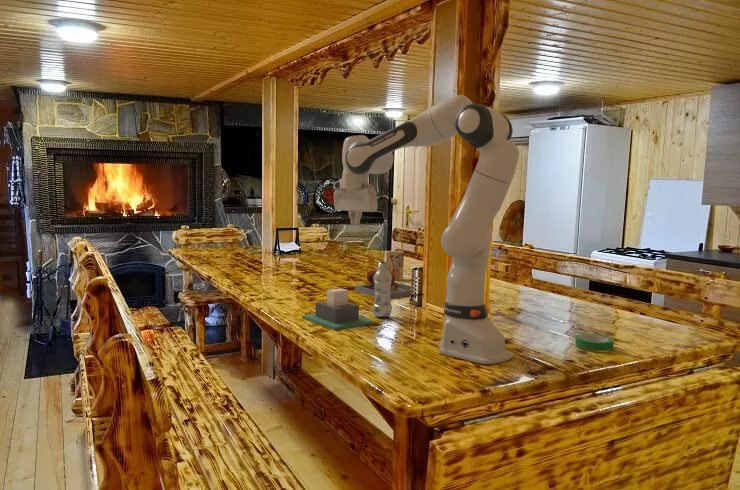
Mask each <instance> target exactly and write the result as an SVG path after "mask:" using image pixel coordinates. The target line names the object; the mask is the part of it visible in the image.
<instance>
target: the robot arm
mask: <svg viewBox="0 0 740 490" xmlns="http://www.w3.org/2000/svg"><path fill="white" fill-rule="evenodd" d="M513 130H514V129H513V124H512V123H511V121H510V120H509V118H508V117H507V116H506V115H504V114H502V113H500V112H498V111H497V110H496V109H493V108H492V107H489V106H486V105H483V104H481V103H479V104H478V103H473V102H472V100H471V99H470V98H469V97H468V96H466V95H463V94H456V95H454V96H451V97H448V98H446V99H444V100H442V101H441V100H440V102H438V103H435V104H434V105H432V106H430V107H429V108H426V110H424V111H422V112H421V113H419V114H418V115H415V116H413V117H412V118H411V119H409V120H407V121H405V122H403V123H401V124H398V125H397V126H395V127H392V128H391V129H388V130H387V131H385V132H382V133H381V134H379V135H377V136H374V137H373V138H371V139H369V138H368V137H367V136H366V135H363V134H357V135H350V136H348V137H347V138H345V139H344V141H343V145H342V152H341V153H342V156H341V158H342V160H341V161H342V166H343V170H342V175H341V176H342V178H340V179H339V180H337V181H335V182H334V183H333V189H334V192H333V205H334V206H333V207H334V209H335V210H336V211H345V212H348V214H347V215H348V216H349V218H350V225H356V226H357V225H358V226H359V225H360V224H361V218H362V216H363V212H364V213H365V212H366V213H375V212H377V210H378V207H379V206H378V205H379V204H378V196H377V195H378V194H377V191H376V187H375V186H374V185H373V183H369V174H373V175H375V174H376V175H381V174H382V175H383V174H385V173H388V172H389V171H390V170H391V169H392V168H393V165H394V161H395V160H394V159H395V158H394V153H393V152H395V151H397V150H399V149H403V148H409V147H411V148H412V147H432V146H435V145H438V144H441V143H443V142H446V141H447V140H449V139H451V138H452V137H454V136H456V135H459V136H460V137H461V139H463V140H464V141H466V142H467V144H469V145H470V146H471V147H472V148H474V149H478V151H479V157H478V161H477V162H476V163H477V164H475V165H476V166H475V168H474V171H473V173H472V175H471V178H470V181H469V183H468V185H467V188H466V190H465V193H464V195H463V196H462V198H461V201H460V202H459V204H458V206H457V207H456V209H455V211H454V213H453V215H452V216H451V219H450V220H449V223H448V225H447V226H446V227H445V229H444V231H443V232H442V234H441V237H440V244H441V247H442V250H443V251H444V253H445V254H447V255H448V256H450V257H451V261H450V267H449V270H448V273H447V275H446V292H445V293H446V294H445V295H446V296H445V301H444V305H443V313H444V315H445V316H444V322H443V328H442V334H441V339H440V342H439V345H438V348H439V350H438V351H439V352H438V353H439V354H441V355H445V356H449V357H454V358H458V359H462V360H465V361H469V362H472V363H473V362H474V363H477V364H482V365H488V364H489V365H490V364H498V363H502V362H506V361H509V360H512V359H513V358H514V352H512V351H510V350H508V349H506V341H505V336H504V334H503V333H502V332H501V331H500V330H499V329H498V328H497V327H496V326H495V325H494V323H493V322H492V321H491V320H490V319H489V318H488V314H489V313H491V311H490V310H491V308H486V305H485V303H484V296H485V295H484V294H485V278H486V271H487V267H488V266H487V265H488V262H489V256H490V248H491V242H492V238H493V235H492V231H491V228H490V226H491V225H492V223H493V221H494V220H495V217H496V216H497V214H498V213H499V212H500V211H501V208H502V206H503V203H504V201H505V199H506V196H507V194H508V192H509V189H510V187H511V185H512V184H511V183H512V181H513V179H514V176H515V174H516V173H515V172H516V169H517V166H518V163H519V162H518V161H519V157H520V150H519V148H518V146H517V145H516V144H515V143H514V142H513V141H510V140H511V139H512V137H513V133H514V131H513Z"/></svg>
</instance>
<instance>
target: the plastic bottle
mask: <svg viewBox="0 0 740 490" xmlns="http://www.w3.org/2000/svg"><path fill="white" fill-rule="evenodd" d="M377 264H378V265H377V269H378V270H377V272H376V273H375V275H374V284H375V297H374V302H373V307H372V312H373V313H372V314H373V315H374V316H375V317H377V318H381V317H382V319H383V317H384V318H389V317H390V316H391V314H392V304H391V299H390V288H391V280H392V275H391V273H390V272H389V270H388V268H389V263H388V262H385V261H379V262H378V263H377Z"/></svg>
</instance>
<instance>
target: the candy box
mask: <svg viewBox="0 0 740 490" xmlns="http://www.w3.org/2000/svg"><path fill="white" fill-rule="evenodd" d="M404 256H405V252H404V251H403V250H384V262H388V263H389V268H388V270H389V272H390V273H391V274H392V275H393V276H394V278H395V280H394V281H403V280H404V263H405V262H404V260H405V259H404Z"/></svg>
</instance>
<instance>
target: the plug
mask: <svg viewBox="0 0 740 490" xmlns="http://www.w3.org/2000/svg"><path fill="white" fill-rule="evenodd" d="M348 293H349V290H348V289H346V288H345V289H344V288H343V287H342V288H341V287H340V288H339V287H338V288H333V289H327V291H326V301H327V305H329V306H332V307H335V306H342V305H348V302H349V301H348V300H349V299H348V298H349V297H348V296H349V295H348Z"/></svg>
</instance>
